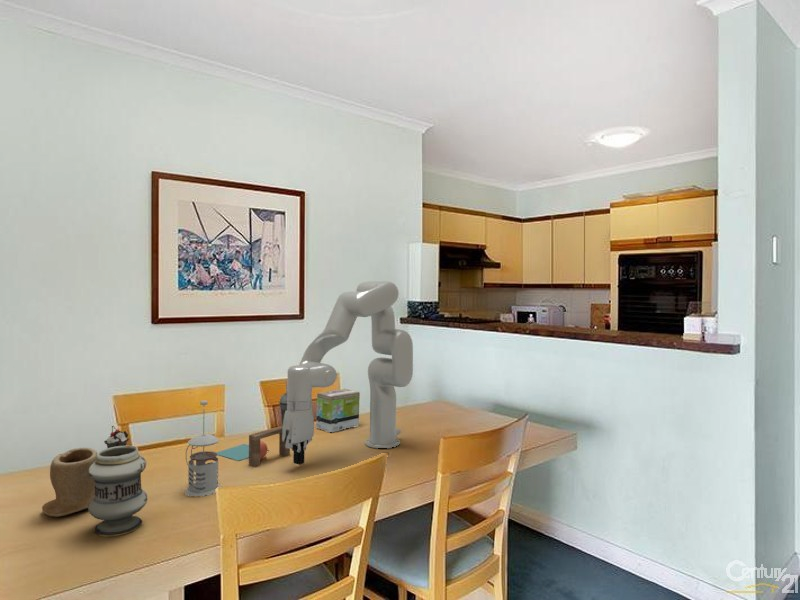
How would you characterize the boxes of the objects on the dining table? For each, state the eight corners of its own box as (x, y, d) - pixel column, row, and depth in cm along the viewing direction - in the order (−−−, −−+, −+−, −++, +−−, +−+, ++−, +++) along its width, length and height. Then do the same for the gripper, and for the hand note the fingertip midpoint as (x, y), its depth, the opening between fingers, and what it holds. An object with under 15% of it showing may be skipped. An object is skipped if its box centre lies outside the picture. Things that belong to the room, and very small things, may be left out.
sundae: (103, 479, 148) (103, 428, 148) (104, 471, 154) (104, 422, 154) (128, 475, 151) (129, 425, 151) (129, 468, 157) (129, 420, 157)
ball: (259, 455, 172) (259, 437, 172) (271, 458, 168) (271, 440, 168) (245, 460, 167) (244, 442, 167) (257, 463, 163) (256, 444, 163)
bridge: (248, 465, 161) (249, 435, 161) (283, 453, 174) (283, 425, 174) (255, 467, 160) (255, 436, 160) (289, 455, 172) (290, 426, 172)
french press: (199, 499, 134) (199, 405, 134) (172, 490, 141) (173, 400, 140) (229, 488, 143) (230, 399, 142) (203, 479, 149) (203, 394, 149)
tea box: (331, 433, 199) (332, 396, 199) (315, 428, 206) (316, 392, 206) (359, 426, 210) (360, 391, 210) (343, 422, 217) (344, 387, 217)
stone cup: (55, 526, 119) (55, 462, 118) (36, 512, 126) (36, 452, 126) (122, 504, 131) (122, 446, 131) (101, 493, 138) (101, 438, 138)
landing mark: (244, 444, 183) (244, 443, 183) (269, 450, 176) (269, 450, 176) (213, 453, 172) (213, 453, 172) (238, 461, 165) (238, 460, 165)
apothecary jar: (77, 530, 117) (77, 452, 116) (128, 511, 127) (129, 439, 127) (106, 544, 110) (106, 462, 110) (157, 523, 120) (158, 448, 120)
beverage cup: (293, 434, 197) (293, 383, 197) (275, 433, 198) (276, 382, 198) (300, 429, 204) (301, 380, 204) (283, 428, 205) (284, 379, 205)
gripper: (307, 399, 168) (306, 454, 168) (273, 407, 155) (272, 467, 155) (324, 402, 164) (323, 459, 164) (290, 411, 151) (290, 472, 151)
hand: (298, 463), depth 160 cm, fingers closed
